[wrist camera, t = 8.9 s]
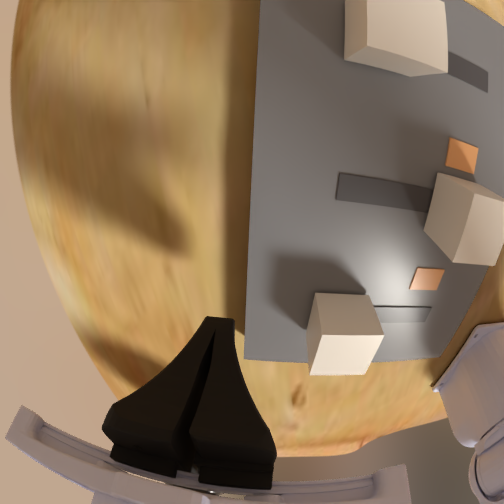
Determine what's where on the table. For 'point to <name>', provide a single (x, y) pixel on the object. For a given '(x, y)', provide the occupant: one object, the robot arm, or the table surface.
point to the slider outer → (397, 35)
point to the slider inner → (342, 334)
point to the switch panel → (364, 178)
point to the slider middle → (466, 221)
